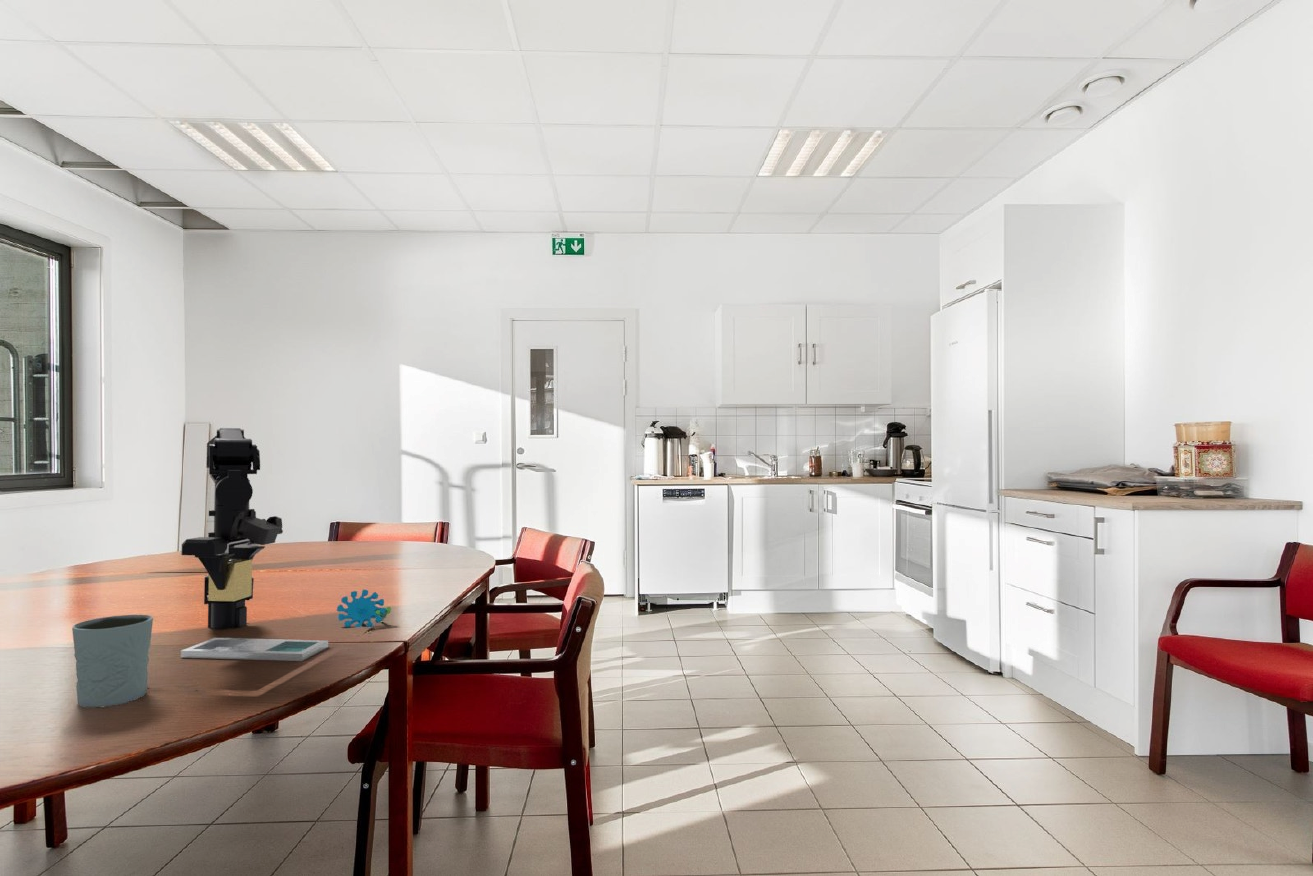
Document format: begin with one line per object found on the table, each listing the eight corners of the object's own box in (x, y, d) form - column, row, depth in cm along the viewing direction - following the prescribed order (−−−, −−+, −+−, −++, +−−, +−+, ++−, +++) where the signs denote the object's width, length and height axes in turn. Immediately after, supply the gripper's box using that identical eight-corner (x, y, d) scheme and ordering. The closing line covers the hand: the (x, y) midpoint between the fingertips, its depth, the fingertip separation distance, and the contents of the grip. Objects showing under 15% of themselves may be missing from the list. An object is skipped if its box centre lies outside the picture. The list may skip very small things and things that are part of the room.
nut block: (208, 600, 132) (209, 561, 132) (226, 595, 137) (227, 557, 137) (234, 601, 131) (234, 562, 131) (251, 595, 136) (252, 558, 136)
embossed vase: (86, 714, 104) (88, 632, 104) (59, 701, 110) (60, 623, 110) (163, 694, 113) (165, 618, 113) (134, 683, 118) (136, 610, 118)
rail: (180, 661, 130) (180, 650, 130) (214, 647, 139) (214, 637, 139) (301, 665, 128) (302, 654, 128) (328, 651, 137) (328, 640, 137)
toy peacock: (332, 625, 150) (341, 586, 158) (331, 640, 154) (340, 601, 161) (387, 629, 154) (394, 590, 161) (385, 643, 158) (392, 604, 165)
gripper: (239, 509, 124) (238, 598, 124) (301, 501, 143) (299, 579, 143) (179, 508, 125) (178, 597, 125) (248, 500, 144) (247, 578, 143)
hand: (230, 587), depth 134 cm, fingers closed on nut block, 5 cm apart
